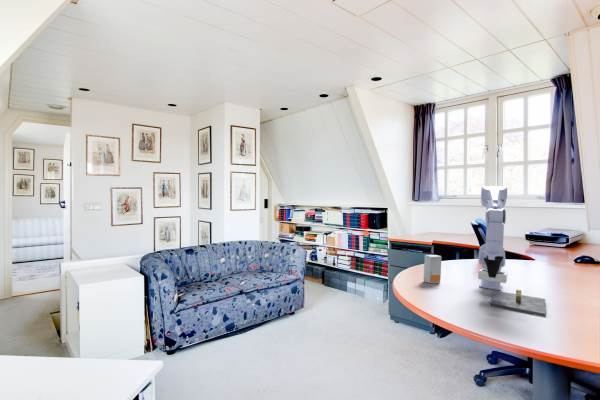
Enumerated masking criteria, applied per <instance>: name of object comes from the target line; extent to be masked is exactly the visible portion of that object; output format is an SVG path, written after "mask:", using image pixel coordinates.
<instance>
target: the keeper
mask: <svg viewBox="0 0 600 400" xmlns="http://www.w3.org/2000/svg"><path fill="white" fill-rule="evenodd" d="M489 307H493V308H499V309H502V310H503V309H504V310H508V311H514V312H519V313H524V314H528V315H534V316H539V317H544V318H545V317H546V315H547V314H546V313H547V312H546V309H547V308H546V299H545V298H541V297H536V296H535V297H534V296H530V295H529V296H528V295H523V294H522V290H521V289H515V293H512V292H505V291H501V290H495V292H494V294H493V297H492V298H491V300H490V302H489Z"/></svg>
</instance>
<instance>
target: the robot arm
mask: <svg viewBox="0 0 600 400" xmlns="http://www.w3.org/2000/svg"><path fill="white" fill-rule="evenodd" d="M480 191H481V192H480V203H481V206H483V207H484V208H485V209H486V210H485V217H484V218H485V219H484V220H485V228H486V229H485V230H486V231H485V232H486V233H485V243H484V244H482V245H481V246H480V247H479V251H478V264H479V265H481V269H485V270H488V276H489V277H492V278H495V277H496V274H497V271H499V272H502V268H503V267H505V266H506V250H505V248H504V232H505V231H504V230H505V224H506V220H507V211H506V209H505V208H504V207H505V206H506V204H507V199H508V187H507V185H504V186H503V185H502V186H501V185H500V186H498V185H497V186H496V185H495V186H493V185H492V186H489V185H487V186H485V185H482V186H481V190H480ZM478 288H484V289H491V290H495V291H501V290H502V288H503V284H501V282H495V281H488V280H482V279H480V284H479V285H478Z"/></svg>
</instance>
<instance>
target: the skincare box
mask: <svg viewBox="0 0 600 400" xmlns="http://www.w3.org/2000/svg"><path fill="white" fill-rule="evenodd" d="M442 258H443V256H441V255H437V254H425V255H424V261H423V262H424V265H423V281H424V282H425V283H427V282H428V283H427V284H440V283H441V277H442V275H441V274H442Z"/></svg>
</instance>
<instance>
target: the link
mask: <svg viewBox="0 0 600 400" xmlns="http://www.w3.org/2000/svg"><path fill="white" fill-rule="evenodd" d="M477 277H478V278H477V279H478V280H481V279H482V280H488V281H495V282H500V284H501V283H502V284H506V283H507V281H508V272H505V271H501V272H499V271H497V274H496V277H495V278H492V277H489V276H488V270H485V269H482V268H480V269H479V270H478V273H477Z"/></svg>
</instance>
